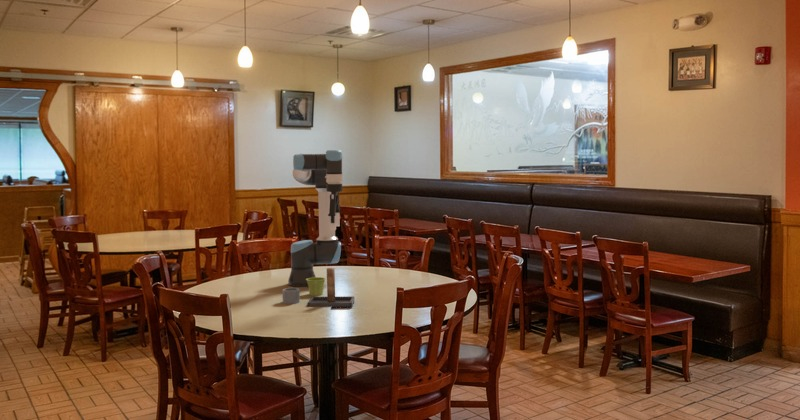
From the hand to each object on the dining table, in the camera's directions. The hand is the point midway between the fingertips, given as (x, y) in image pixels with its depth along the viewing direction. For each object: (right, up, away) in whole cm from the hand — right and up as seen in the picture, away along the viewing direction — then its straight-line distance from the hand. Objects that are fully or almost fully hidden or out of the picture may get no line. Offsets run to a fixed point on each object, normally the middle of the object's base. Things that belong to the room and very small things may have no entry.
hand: (334, 228), depth 319 cm
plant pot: (-11, -34, +14) cm, 38 cm away
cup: (-20, -35, -4) cm, 41 cm away
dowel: (-1, -34, -7) cm, 35 cm away
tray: (-1, -35, -7) cm, 36 cm away
